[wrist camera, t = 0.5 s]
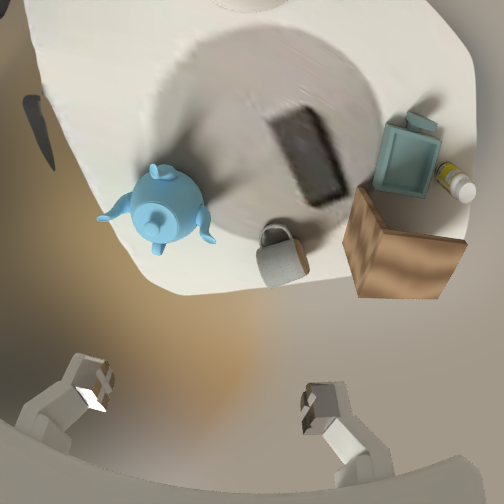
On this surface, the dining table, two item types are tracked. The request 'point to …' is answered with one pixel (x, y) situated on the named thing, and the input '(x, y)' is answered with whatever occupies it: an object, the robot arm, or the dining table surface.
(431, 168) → the tray
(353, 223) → the open wooden box
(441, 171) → the supplement bottle
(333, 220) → the dining table surface
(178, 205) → the teapot
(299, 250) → the ceramic mug
